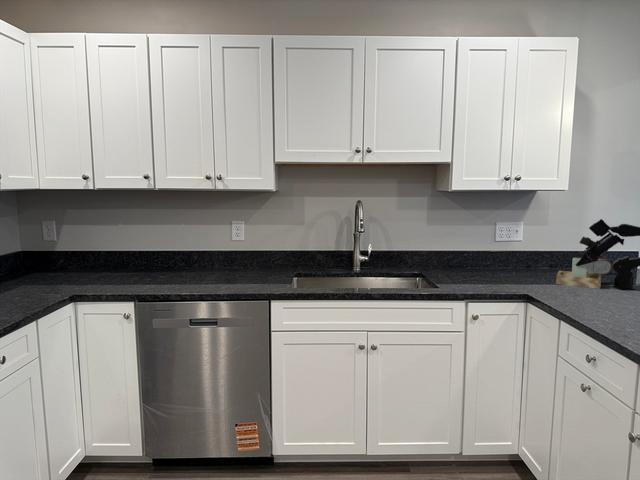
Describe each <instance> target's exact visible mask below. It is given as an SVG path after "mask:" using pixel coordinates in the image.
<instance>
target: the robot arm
mask: <svg viewBox="0 0 640 480" xmlns="http://www.w3.org/2000/svg"><path fill="white" fill-rule="evenodd" d="M588 229H589V230H590V231H591V232H592V233H593V234H594V235H596V236H597V237H602V238H600V239H598V240H596V241H594V240H592V238H590V237H585V236H582V237H581V239H580V241H579V242H578V243H579V244H581V245H584V246H586V247H585V249H584V250H583V253H582V256H581V257H580V258H581V259H580V260H579V261H578V262H577V263H576V266H580V265H584V264H588V263H592V262H596V261H597V260H598V259H599V258H600V257H601V256H602V255H603V254H605V253H606V252H608V251H609V250H610V249H611V248H613V247H614V246H616V245H617V244H621V246H624V243H625V238H628V237H629V238H630V237H631V238H632V237H640V226H637V225H633V224H628V223H621V224H619V225H618V226H610V225H608V224H607V223H606V222H605V220H604V219H602V218H600V219H599V220H598V221H596V222H594V223H593V224H592V225H590V226H589V227H588ZM638 267H640V256H637V257H633V258H631V257H629V255H625V256H623V257H617V259H616V260H614V261H613V262H612V269H613V271H615V272H616V273H617V274H615V276H614V277H615V278H614V279H613V280H614V282H613V285H612V287H613V288H614V289H615V288H616V289H619V290H622V291H626V290H627V291H630V290H631V291H635V290H636V288H634V278H635V275H634V272H633V270H634V269H636V268H638Z"/></svg>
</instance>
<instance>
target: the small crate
mask: <svg viewBox="0 0 640 480" xmlns="http://www.w3.org/2000/svg"><path fill="white" fill-rule="evenodd" d="M580 259H581V257H573V258H572V263H571V264H572V265H571V272H572V276H575V277H585V278H586V276H587V264H584V265H580V266H576V263H577V262H578V261H579V260H580Z"/></svg>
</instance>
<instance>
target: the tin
mask: <svg viewBox="0 0 640 480" xmlns="http://www.w3.org/2000/svg"><path fill="white" fill-rule="evenodd" d="M612 269H613V263H611V262H610V261H609V260H607V259H605V258H598V260H597V261H596V262H592V263H588V264H587V273H590V274H601V275H608V274H609V273H610V272H612Z"/></svg>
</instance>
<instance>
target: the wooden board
mask: <svg viewBox="0 0 640 480" xmlns="http://www.w3.org/2000/svg"><path fill="white" fill-rule="evenodd" d="M555 278H556V280H555V285H560V286H562V285H563V286H569V287H571V286H572V287H579V288H587V287H588V289H589V288H590V289H596V288H597V289H598V290H601V282H602V274H590V273H587V276H586V278H585V277H575V276H572V271H570V270H569V271H566V270H558V272H557V273H556V277H555Z"/></svg>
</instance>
